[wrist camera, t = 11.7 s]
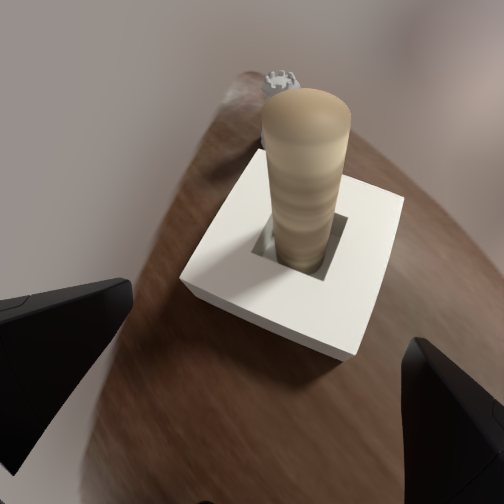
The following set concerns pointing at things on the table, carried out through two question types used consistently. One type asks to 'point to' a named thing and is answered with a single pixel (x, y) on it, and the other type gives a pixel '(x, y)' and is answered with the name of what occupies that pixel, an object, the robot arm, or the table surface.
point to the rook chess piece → (277, 87)
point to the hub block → (291, 281)
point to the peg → (304, 171)
